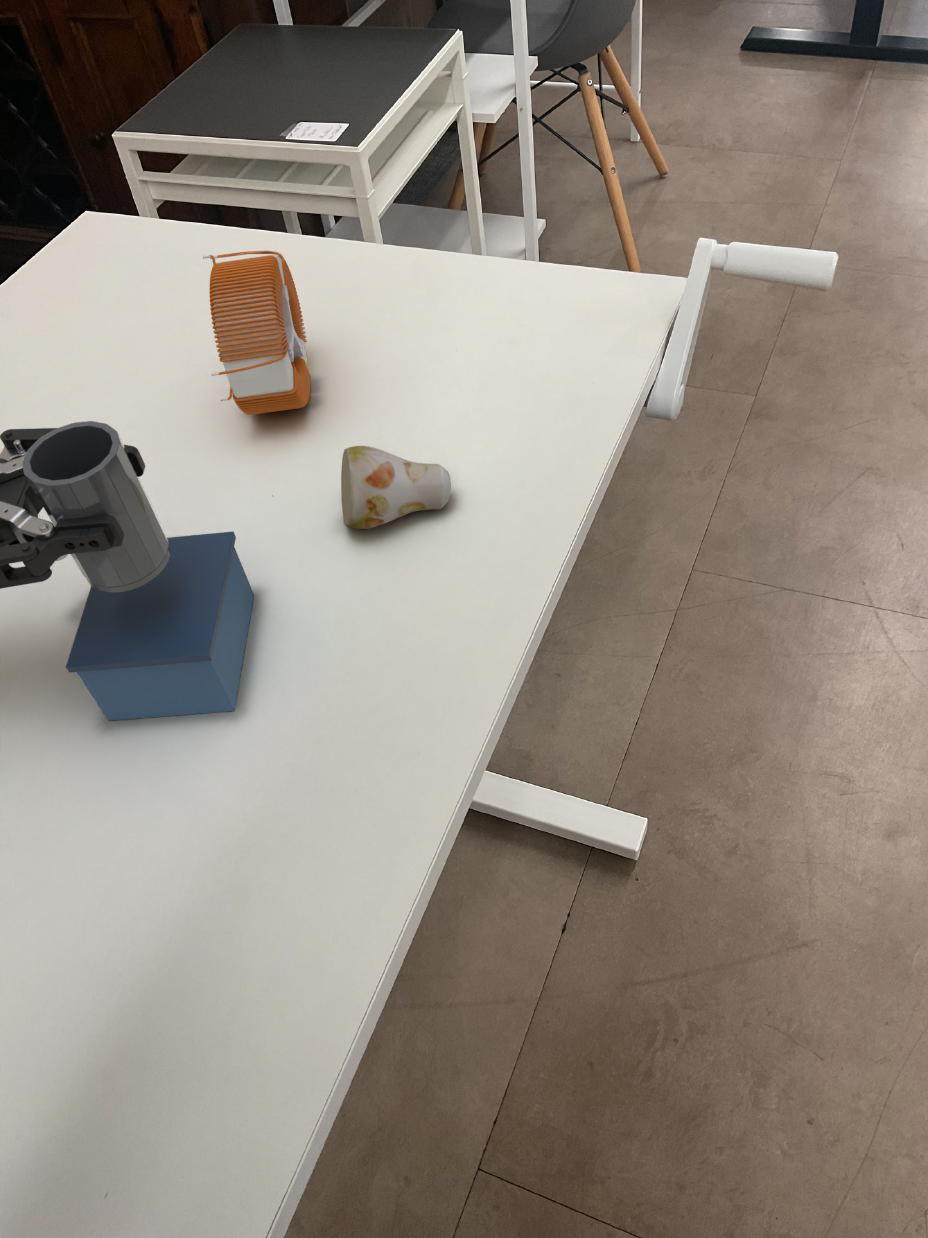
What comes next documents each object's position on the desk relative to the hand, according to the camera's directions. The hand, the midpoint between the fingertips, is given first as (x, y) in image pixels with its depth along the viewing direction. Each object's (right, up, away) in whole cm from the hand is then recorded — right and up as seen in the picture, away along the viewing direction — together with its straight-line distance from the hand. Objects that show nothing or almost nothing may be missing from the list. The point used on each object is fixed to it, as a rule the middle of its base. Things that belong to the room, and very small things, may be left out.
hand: (129, 494), depth 67 cm
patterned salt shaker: (+16, +1, +23) cm, 28 cm away
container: (0, -11, +14) cm, 18 cm away
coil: (+3, +14, +36) cm, 38 cm away
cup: (-2, -4, +5) cm, 6 cm away
